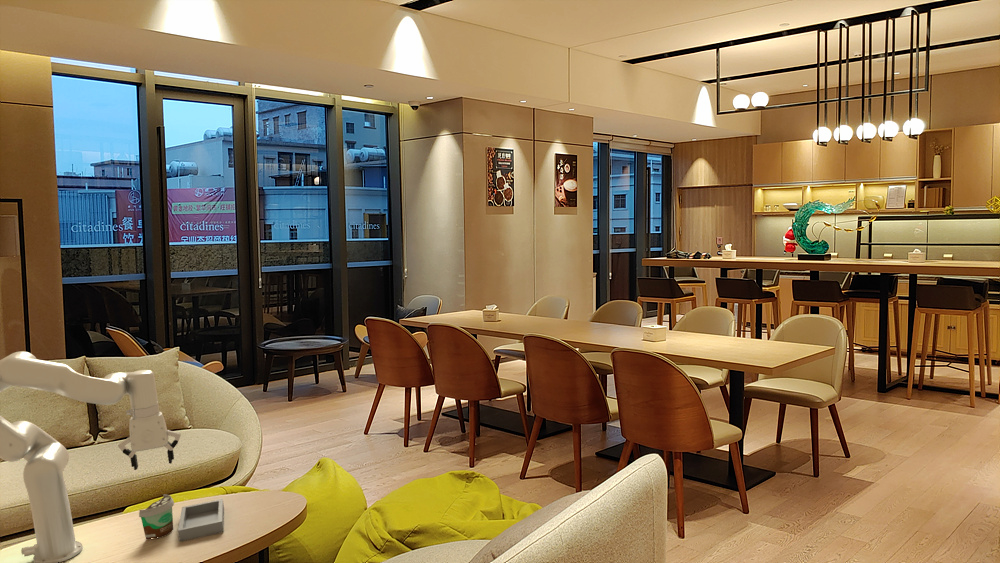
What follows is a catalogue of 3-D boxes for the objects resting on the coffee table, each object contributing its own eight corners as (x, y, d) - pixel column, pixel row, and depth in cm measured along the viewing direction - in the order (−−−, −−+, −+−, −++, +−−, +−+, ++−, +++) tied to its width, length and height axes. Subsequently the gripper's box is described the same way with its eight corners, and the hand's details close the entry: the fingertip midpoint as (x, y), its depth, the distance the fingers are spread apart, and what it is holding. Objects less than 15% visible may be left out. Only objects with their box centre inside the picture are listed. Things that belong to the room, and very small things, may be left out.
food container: (160, 542, 221) (156, 511, 220) (142, 542, 222) (138, 510, 221) (185, 523, 233) (181, 493, 232) (168, 523, 234) (164, 493, 233)
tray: (179, 541, 221) (178, 530, 220) (183, 517, 238) (182, 507, 237) (223, 532, 225) (222, 521, 224) (224, 508, 242) (222, 498, 241)
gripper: (112, 419, 216) (120, 475, 218) (175, 409, 222) (183, 463, 224) (115, 413, 223) (124, 466, 225) (177, 403, 229) (184, 455, 231)
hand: (153, 465), depth 225 cm, fingers open, 9 cm apart
